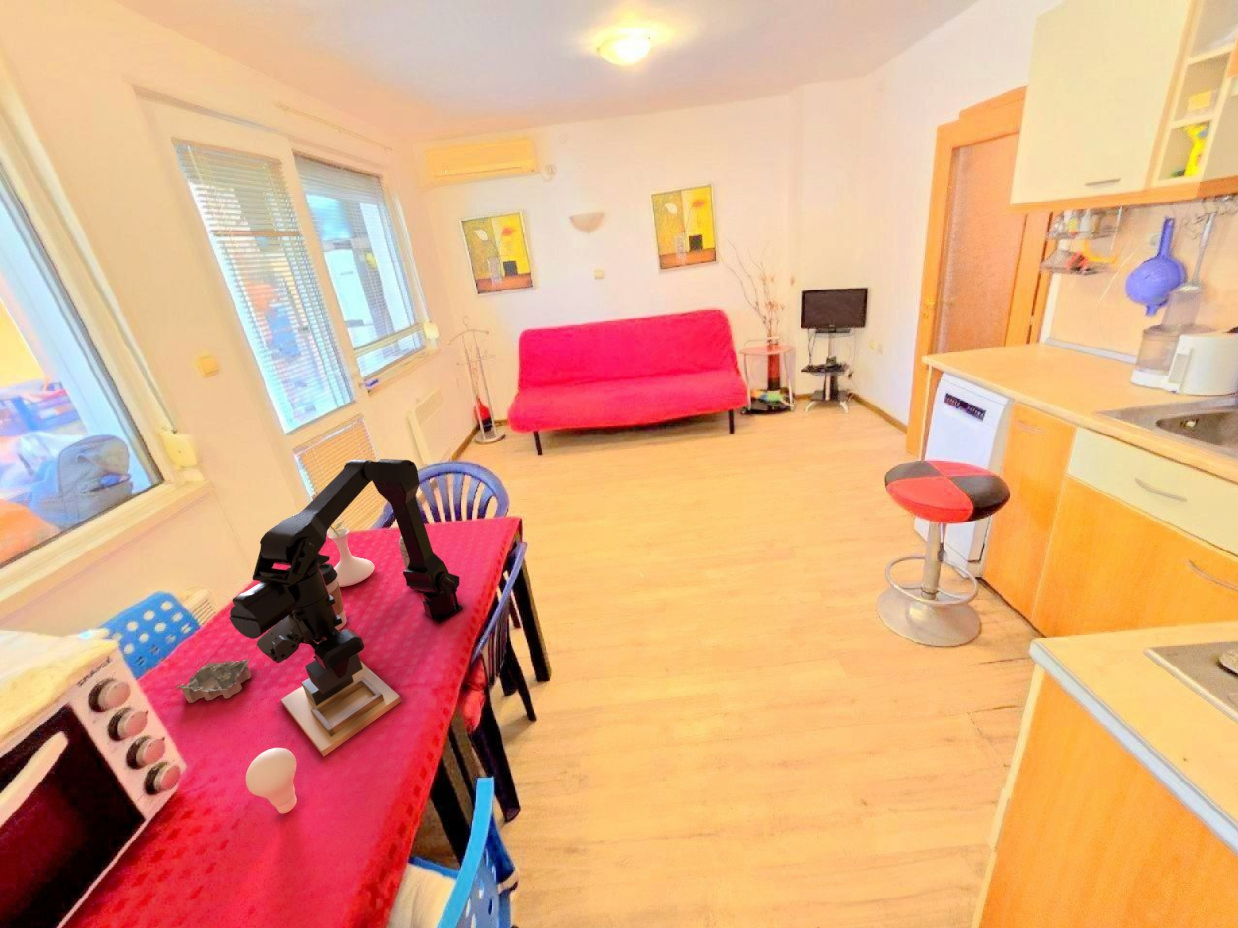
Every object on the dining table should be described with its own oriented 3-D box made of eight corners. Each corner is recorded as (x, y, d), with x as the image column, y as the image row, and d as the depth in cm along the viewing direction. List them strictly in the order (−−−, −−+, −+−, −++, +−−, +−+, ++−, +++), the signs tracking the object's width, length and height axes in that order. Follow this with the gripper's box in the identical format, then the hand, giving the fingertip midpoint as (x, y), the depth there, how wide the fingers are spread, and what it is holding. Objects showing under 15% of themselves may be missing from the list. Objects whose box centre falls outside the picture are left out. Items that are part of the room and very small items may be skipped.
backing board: (355, 659, 106) (349, 643, 104) (401, 701, 94) (396, 683, 93) (282, 703, 96) (274, 687, 94) (323, 756, 84) (316, 738, 83)
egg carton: (179, 705, 98) (170, 689, 96) (207, 675, 105) (199, 660, 103) (234, 699, 98) (226, 683, 96) (258, 670, 105) (251, 655, 103)
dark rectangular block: (350, 657, 94) (345, 642, 92) (363, 668, 91) (357, 653, 89) (310, 681, 89) (304, 665, 88) (322, 694, 86) (316, 678, 85)
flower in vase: (385, 572, 137) (360, 488, 127) (344, 595, 128) (314, 507, 119) (357, 561, 143) (332, 481, 134) (317, 582, 135) (287, 498, 126)
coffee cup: (334, 639, 112) (314, 583, 107) (303, 636, 114) (281, 580, 109) (360, 615, 120) (342, 561, 114) (330, 612, 122) (311, 559, 116)
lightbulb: (277, 837, 72) (251, 784, 68) (257, 816, 76) (231, 764, 72) (319, 800, 77) (297, 748, 73) (299, 782, 80) (276, 731, 76)
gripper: (234, 603, 84) (266, 675, 90) (274, 648, 72) (308, 727, 78) (306, 571, 92) (331, 639, 97) (352, 606, 80) (377, 682, 86)
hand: (335, 670), depth 89 cm, fingers closed on dark rectangular block, 5 cm apart
